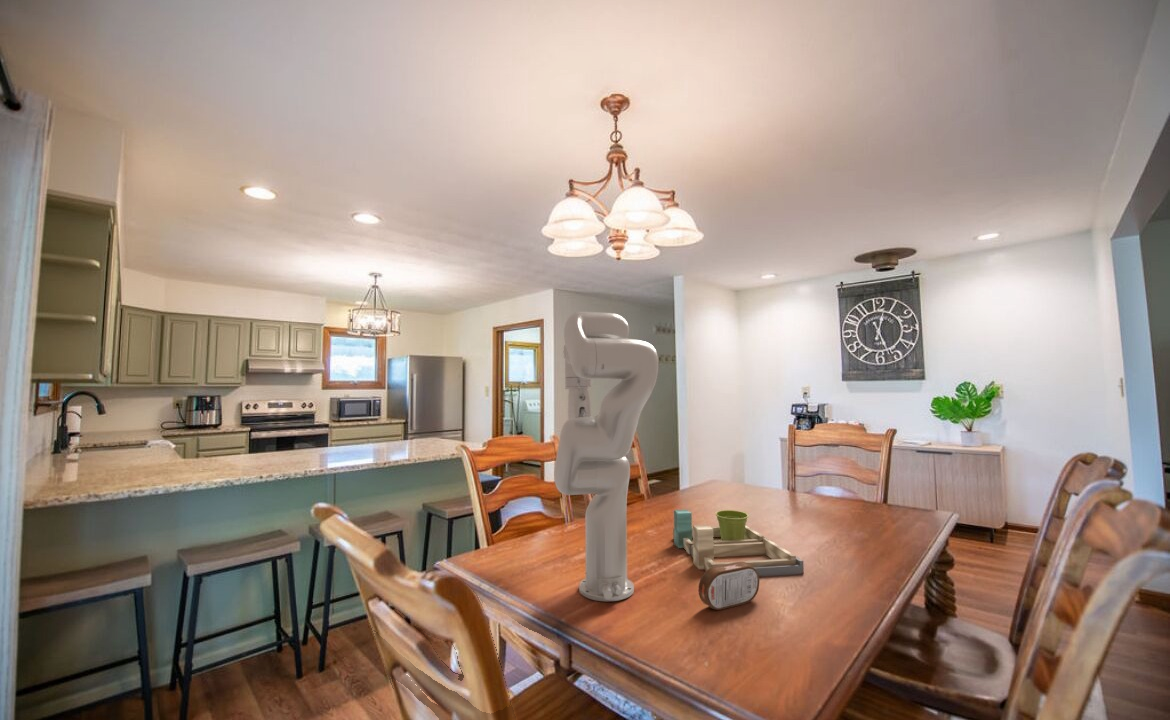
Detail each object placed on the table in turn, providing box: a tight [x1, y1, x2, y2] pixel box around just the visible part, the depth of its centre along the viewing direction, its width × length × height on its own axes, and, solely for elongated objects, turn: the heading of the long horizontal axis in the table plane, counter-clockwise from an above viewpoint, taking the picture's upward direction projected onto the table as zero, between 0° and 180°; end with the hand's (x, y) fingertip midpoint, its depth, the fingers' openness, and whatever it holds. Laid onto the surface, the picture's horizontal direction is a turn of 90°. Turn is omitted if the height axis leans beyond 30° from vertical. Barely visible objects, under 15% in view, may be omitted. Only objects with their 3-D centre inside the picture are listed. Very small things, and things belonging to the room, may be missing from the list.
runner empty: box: [691, 524, 797, 572], centre depth 126 cm, size 14×23×10 cm, turn 97°
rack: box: [690, 536, 805, 577], centre depth 133 cm, size 32×23×3 cm
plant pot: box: [714, 509, 749, 541], centre depth 142 cm, size 9×9×9 cm
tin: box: [698, 560, 760, 611], centre depth 102 cm, size 15×3×8 cm, turn 115°
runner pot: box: [672, 509, 765, 555], centre depth 142 cm, size 14×23×10 cm, turn 97°
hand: (578, 442), depth 139 cm, fingers open, 9 cm apart
